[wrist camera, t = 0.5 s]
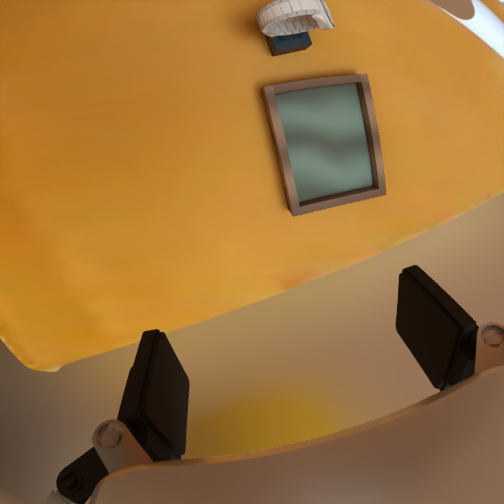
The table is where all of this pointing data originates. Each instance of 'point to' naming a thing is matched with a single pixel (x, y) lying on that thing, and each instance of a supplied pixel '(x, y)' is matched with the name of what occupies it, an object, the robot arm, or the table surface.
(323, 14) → the watch
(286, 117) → the watch tray
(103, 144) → the table surface
